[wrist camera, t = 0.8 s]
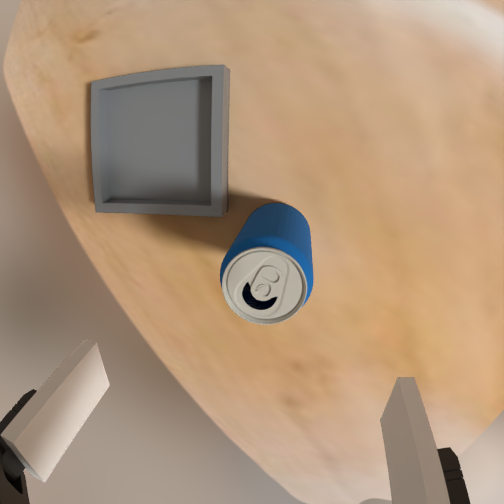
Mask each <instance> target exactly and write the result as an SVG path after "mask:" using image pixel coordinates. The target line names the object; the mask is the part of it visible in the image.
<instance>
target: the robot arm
mask: <svg viewBox="0 0 504 504" xmlns="http://www.w3.org/2000/svg"><path fill="white" fill-rule="evenodd" d="M109 385H110V384H109V382H108V378H107V375H106V372H105V369H104V366H103V362H102V359H101V356H100V353H99V349H98V345H97V342H93V341H89V340H85V339H84V340H83V341H82V342H81V343H80V344H79V345H78V346H77V347H76V348H75V349H74V351H73V352H72V353H71V354H70V355H69V356H68V357H67V358H66V359H65V360H64V361H63V362H62V364H61V365H60V366H59V367H58V368H57V369H56V370H55V371H54V372H53V374H52V375H51V376H50V377H49V378H48V380H46V381H45V383H44V384H43V385H42V386H41V387H40V388H39V390H38V391H36V390H34V389H33V390H31V391H29V392H28V393H26V394H25V395H23V397H22V398H21V399H20V400H19V401H18V402H17V404H15V406H14V407H13V408H12V410H10V411H9V413H8V414H7V415H6V416H5V417H4V418H3V420H2V421H1V422H0V504H30V503H29V498H28V493H27V486H26V480H25V475H24V472H23V470H24V469H25V468H26V469H27V470H28V471H29V473H30V474H31V475H32V476H34V477H36V478H38V479H39V480H41V481H43V482H46V480H47V478H48V477H49V475H50V474H51V472H52V471H53V469H54V467H55V466H56V464H57V463H58V461H59V460H60V458H61V457H62V455H63V454H64V452H65V451H66V449H67V448H68V446H69V445H70V443H71V442H72V440H73V438H74V437H75V436H76V434H77V432H78V431H79V430H80V428H81V427H82V425H83V424H84V422H85V421H86V419H87V418H88V416H89V415H90V413H91V412H92V410H93V409H94V407H95V406H96V404H97V403H98V402H99V400H100V399H101V397H102V396H103V394H104V393H105V391H106V390H107V389H108V387H109ZM380 422H381V427H382V433H383V439H384V445H385V452H386V458H387V465H388V472H389V480H390V488H391V496H392V504H470V500H469V497H468V492H467V489H466V485H465V481H464V479H463V474H462V471H461V470H460V469H461V467H460V464H459V460H458V457H457V456H456V454H455V453H454V452H453V451H452V449H451V448H450V447H449V448H442V449H437V448H436V444H435V441H434V437H433V434H432V431H431V427H430V424H429V421H428V417H427V414H426V411H425V408H424V405H423V402H422V399H421V396H420V393H419V390H418V387H417V384H416V381H415V378H414V377H398V378H397V380H396V383H395V386H394V388H393V391H392V393H391V396H390V398H389V401H388V403H387V405H386V408H385V410H384V412H383V415H382V417H381V419H380Z"/></svg>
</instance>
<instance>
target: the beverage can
mask: <svg viewBox="0 0 504 504" xmlns="http://www.w3.org/2000/svg"><path fill="white" fill-rule="evenodd" d="M220 282H221V287H222V291H223V295H224V298H225V300H226V302H227V304H228V305H229V307H230V308H231V309H232V310H233V311H234V312H235V313H236V314H237V315H239V316H240V317H241V318H243V319H245V320H247V321H249V322H252V323H256V324H263V325H271V324H277V323H280V322H283V321H286V320H287V319H289V318H291V317H292V316H294V315H295V314H296V313H297V312H298V311H299V309H300V308H301V307H302V306H303V305H304V304H305V303H306V301H307V300H308V298H309V296H310V294H311V291H312V287H313V264H312V249H311V235H310V228H309V225H308V222H307V220H306V219H305V217H304V216H303V215H302V214H301V213H300V212H299V211H298V210H297V209H295V208H294V207H292V206H289V205H287V204H282V203H270V204H266V205H263V206H261V207H259V208H258V209H256V210H255V211H254V212H253V213H252V214H251V215H250V216H249V218H248V220H247V221H246V223H245V224H244V226H243V228H242V229H241V231H240V233H239V234H238V236H237V237H236V239H235V241H234V242H233V244H232V246H231V247H230V249H229V251H228V252H227V254H226V256H225V257H224V259H223V262H222V265H221V269H220Z"/></svg>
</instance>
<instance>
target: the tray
mask: <svg viewBox="0 0 504 504" xmlns="http://www.w3.org/2000/svg"><path fill="white" fill-rule="evenodd" d="M229 86H230V69H228V68H227V67H226V66H225V65H209V66H195V67H183V68H174V69H165V70H157V71H149V72H142V73H136V74H130V75H124V76H118V77H113V78H107V79H102V80H98V81H93V82H91V153H92V173H93V187H94V199H95V210H96V212H102V213H137V214H164V215H188V216H209V217H223V215H224V214H225V213H226V212H227V211H228V136H229Z"/></svg>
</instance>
